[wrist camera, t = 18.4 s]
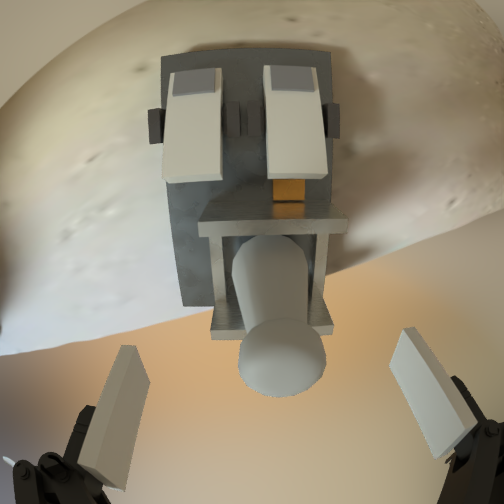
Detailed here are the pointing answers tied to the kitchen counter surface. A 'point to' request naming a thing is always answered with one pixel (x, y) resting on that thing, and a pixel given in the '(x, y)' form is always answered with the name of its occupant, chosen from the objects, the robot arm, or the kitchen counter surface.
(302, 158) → the rocker
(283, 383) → the salt shaker
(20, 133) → the kitchen counter surface
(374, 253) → the kitchen counter surface
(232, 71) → the grey mechanical fixture
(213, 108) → the rocker
